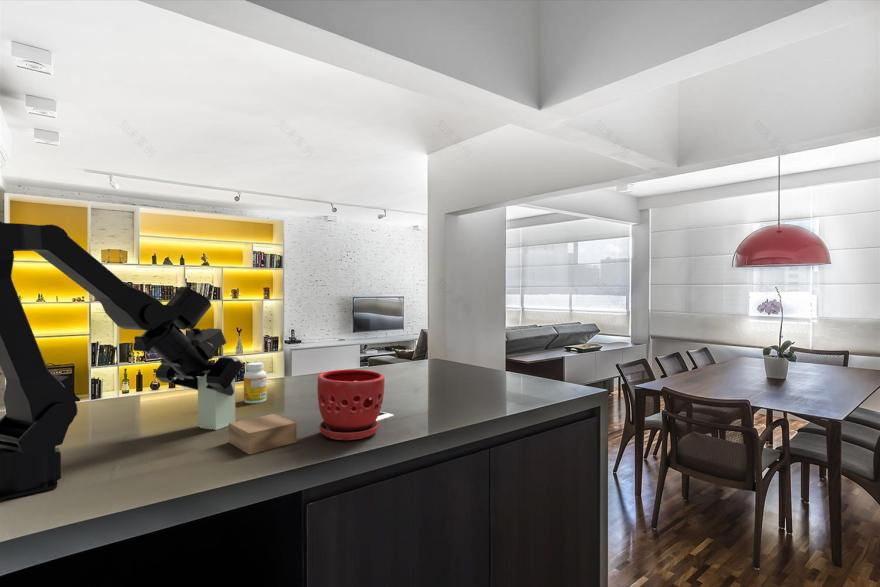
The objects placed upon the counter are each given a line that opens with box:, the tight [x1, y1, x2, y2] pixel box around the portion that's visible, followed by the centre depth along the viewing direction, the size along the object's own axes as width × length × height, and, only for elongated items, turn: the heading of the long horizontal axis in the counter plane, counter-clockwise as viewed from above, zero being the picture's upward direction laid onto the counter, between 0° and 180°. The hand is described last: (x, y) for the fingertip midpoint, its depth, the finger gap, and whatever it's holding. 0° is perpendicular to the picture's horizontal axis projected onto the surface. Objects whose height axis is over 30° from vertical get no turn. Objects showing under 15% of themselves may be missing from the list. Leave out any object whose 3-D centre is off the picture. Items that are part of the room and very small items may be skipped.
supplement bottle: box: [243, 361, 268, 404], centre depth 118 cm, size 5×5×10 cm
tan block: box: [228, 413, 298, 455], centre depth 87 cm, size 9×9×4 cm
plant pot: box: [316, 369, 385, 441], centre depth 92 cm, size 13×13×12 cm
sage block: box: [197, 374, 236, 431], centre depth 97 cm, size 5×5×13 cm
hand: (222, 392), depth 98 cm, fingers closed on sage block, 5 cm apart
